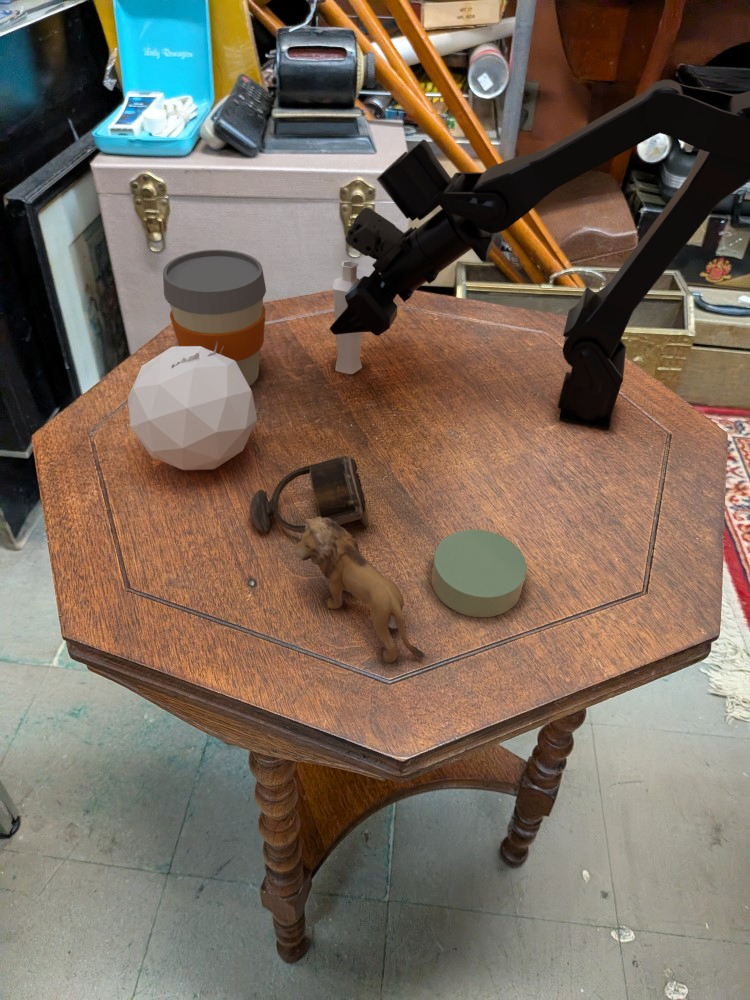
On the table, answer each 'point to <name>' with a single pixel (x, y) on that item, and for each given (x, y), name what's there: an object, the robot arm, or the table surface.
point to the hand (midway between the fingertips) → (343, 315)
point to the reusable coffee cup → (218, 304)
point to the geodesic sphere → (192, 408)
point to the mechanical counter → (318, 495)
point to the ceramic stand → (478, 573)
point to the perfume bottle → (347, 342)
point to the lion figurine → (355, 579)
